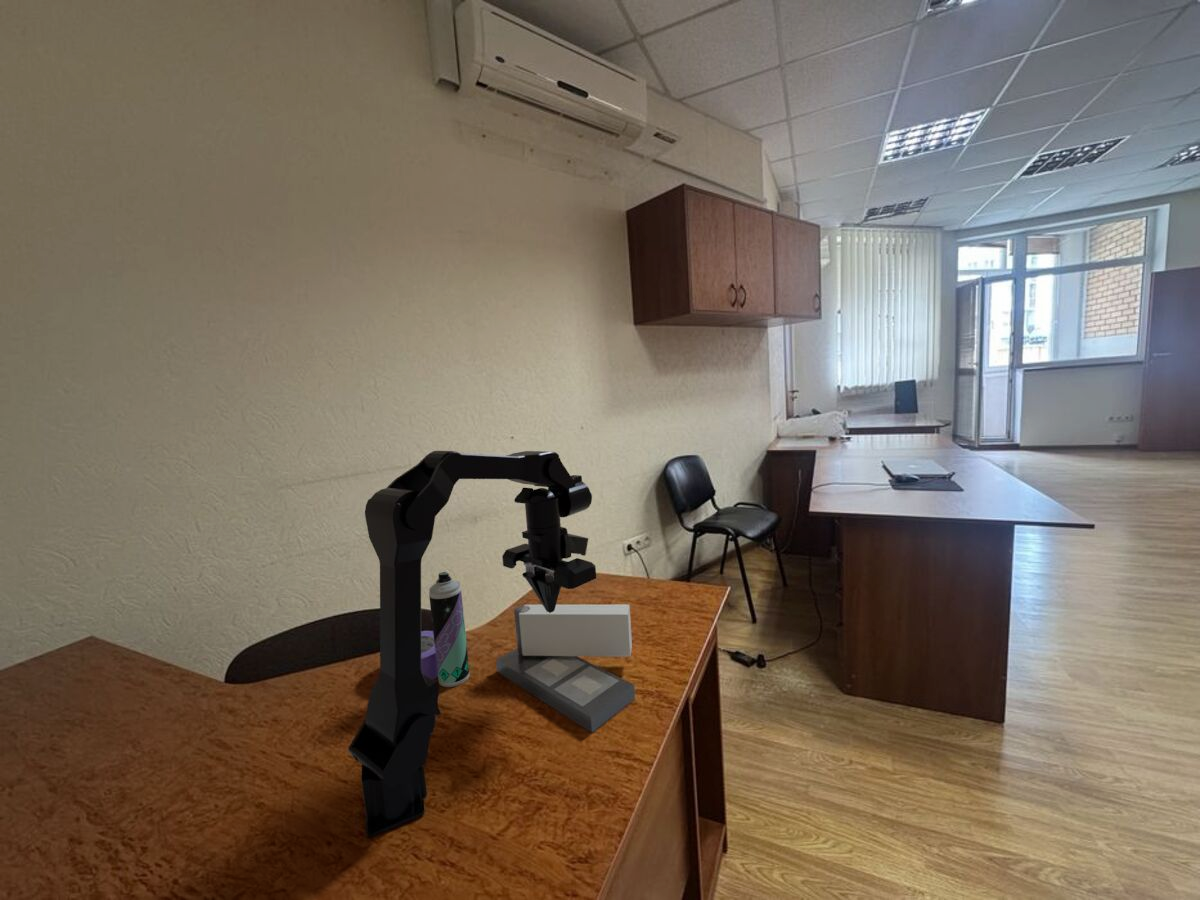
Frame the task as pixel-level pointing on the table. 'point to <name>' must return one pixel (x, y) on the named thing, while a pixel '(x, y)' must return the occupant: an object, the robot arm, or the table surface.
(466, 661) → the spray can
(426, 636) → the tape roll
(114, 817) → the table surface
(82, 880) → the table surface
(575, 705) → the server tray
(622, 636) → the upright grey slab
